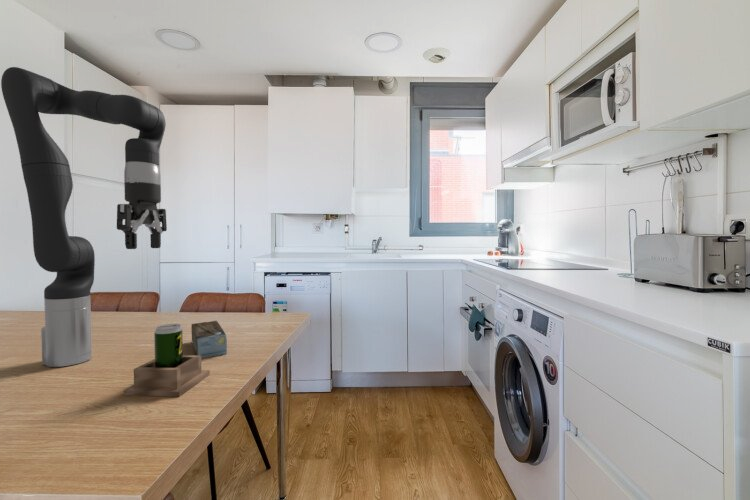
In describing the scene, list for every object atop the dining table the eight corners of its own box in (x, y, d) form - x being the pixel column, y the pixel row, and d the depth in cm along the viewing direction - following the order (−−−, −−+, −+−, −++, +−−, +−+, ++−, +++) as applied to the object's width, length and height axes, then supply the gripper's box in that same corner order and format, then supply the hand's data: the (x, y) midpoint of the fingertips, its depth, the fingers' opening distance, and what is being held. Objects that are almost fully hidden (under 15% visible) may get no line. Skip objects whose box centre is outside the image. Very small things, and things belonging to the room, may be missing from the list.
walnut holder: (123, 395, 74) (123, 371, 74) (161, 373, 86) (161, 353, 85) (179, 396, 73) (179, 372, 73) (209, 374, 85) (209, 353, 85)
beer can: (155, 386, 76) (154, 330, 75) (154, 378, 80) (153, 325, 80) (184, 381, 79) (183, 327, 78) (181, 373, 83) (181, 322, 83)
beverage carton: (196, 359, 96) (195, 335, 96) (190, 342, 113) (190, 322, 113) (227, 355, 100) (227, 331, 100) (218, 339, 117) (217, 319, 117)
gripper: (148, 187, 95) (149, 248, 95) (104, 178, 81) (106, 249, 81) (175, 187, 95) (176, 248, 95) (136, 177, 80) (137, 249, 81)
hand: (144, 248), depth 88 cm, fingers open, 8 cm apart
